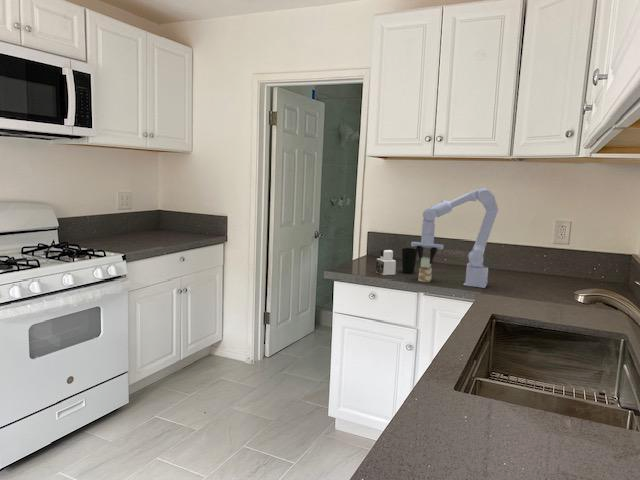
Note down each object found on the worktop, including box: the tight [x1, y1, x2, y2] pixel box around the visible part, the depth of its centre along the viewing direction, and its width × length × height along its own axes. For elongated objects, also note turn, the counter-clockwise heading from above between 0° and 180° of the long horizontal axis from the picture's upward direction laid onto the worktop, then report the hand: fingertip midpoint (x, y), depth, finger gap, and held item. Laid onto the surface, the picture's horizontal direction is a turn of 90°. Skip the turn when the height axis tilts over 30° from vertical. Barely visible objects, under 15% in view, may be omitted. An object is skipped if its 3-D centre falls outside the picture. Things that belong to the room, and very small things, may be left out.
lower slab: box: [417, 274, 433, 283], centre depth 223 cm, size 5×5×3 cm
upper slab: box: [418, 266, 433, 276], centre depth 223 cm, size 5×5×3 cm
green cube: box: [420, 256, 432, 268], centre depth 222 cm, size 4×4×4 cm
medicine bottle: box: [375, 248, 397, 276], centre depth 235 cm, size 7×7×12 cm
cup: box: [401, 247, 418, 275], centre depth 239 cm, size 8×8×12 cm
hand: (425, 262), depth 222 cm, fingers closed on green cube, 4 cm apart
